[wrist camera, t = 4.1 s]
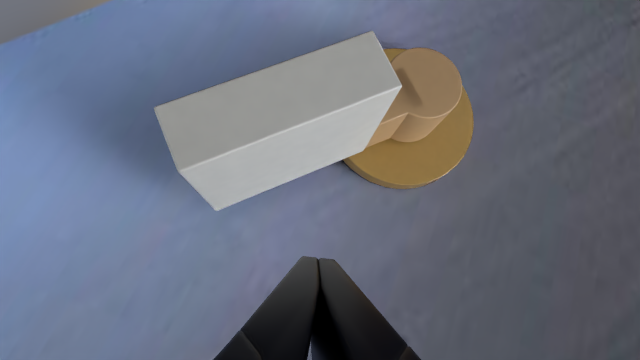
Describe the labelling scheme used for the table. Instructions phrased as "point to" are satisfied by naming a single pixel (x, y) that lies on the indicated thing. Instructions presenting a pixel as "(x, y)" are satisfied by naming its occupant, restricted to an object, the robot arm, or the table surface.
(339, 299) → the robot arm
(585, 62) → the table surface
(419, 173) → the swivel base
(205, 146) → the block on round stand
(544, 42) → the table surface
